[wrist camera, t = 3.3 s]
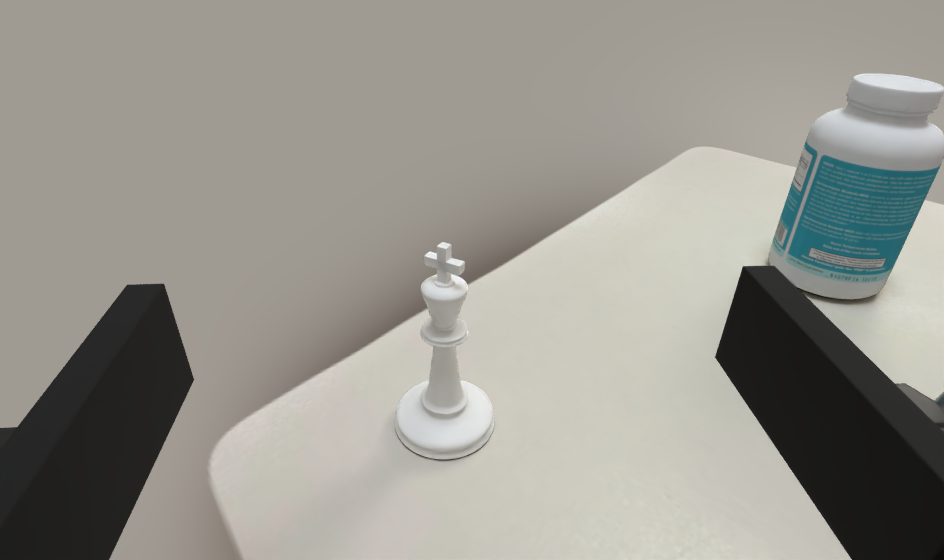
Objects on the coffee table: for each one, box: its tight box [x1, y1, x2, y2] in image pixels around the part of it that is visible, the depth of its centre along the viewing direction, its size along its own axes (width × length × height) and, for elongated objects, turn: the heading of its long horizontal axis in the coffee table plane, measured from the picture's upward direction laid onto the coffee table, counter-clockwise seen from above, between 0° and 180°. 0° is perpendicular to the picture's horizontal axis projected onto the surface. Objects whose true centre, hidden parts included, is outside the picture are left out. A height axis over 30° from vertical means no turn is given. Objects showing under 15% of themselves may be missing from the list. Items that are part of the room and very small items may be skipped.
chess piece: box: [395, 242, 494, 459], centre depth 26 cm, size 5×5×10 cm
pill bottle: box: [769, 74, 944, 299], centre depth 38 cm, size 8×7×14 cm
